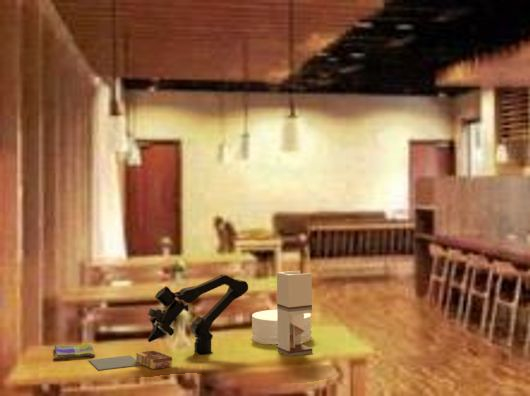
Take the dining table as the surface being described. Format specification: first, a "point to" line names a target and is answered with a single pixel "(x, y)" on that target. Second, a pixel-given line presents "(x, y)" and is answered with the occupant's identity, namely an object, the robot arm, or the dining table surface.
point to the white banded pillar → (293, 310)
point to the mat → (114, 362)
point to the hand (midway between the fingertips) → (148, 341)
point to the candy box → (154, 359)
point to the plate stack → (274, 327)
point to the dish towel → (74, 352)
